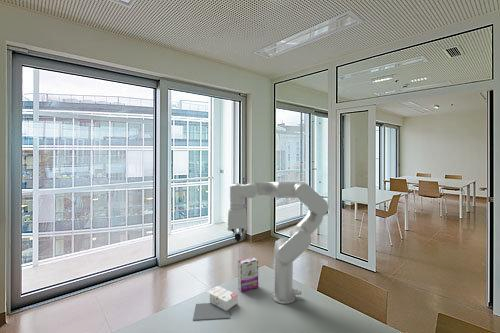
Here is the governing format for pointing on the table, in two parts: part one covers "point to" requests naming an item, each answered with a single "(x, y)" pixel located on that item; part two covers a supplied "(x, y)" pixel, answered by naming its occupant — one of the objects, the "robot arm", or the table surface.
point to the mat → (210, 312)
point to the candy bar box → (247, 274)
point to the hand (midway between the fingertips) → (237, 240)
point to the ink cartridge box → (222, 298)
